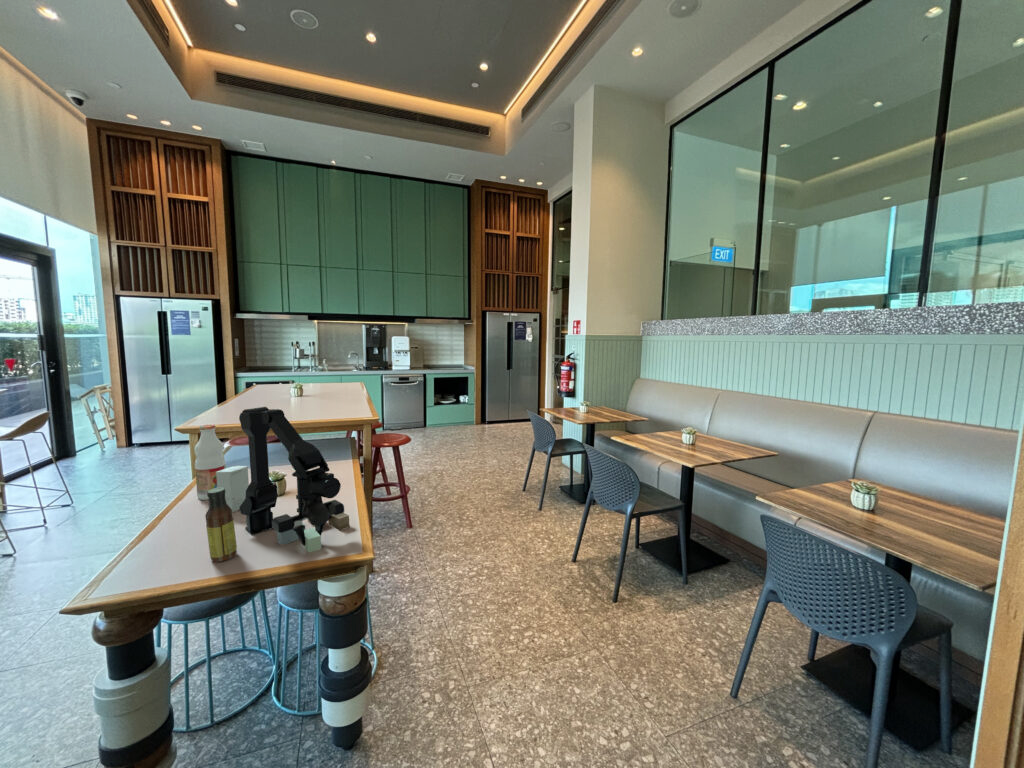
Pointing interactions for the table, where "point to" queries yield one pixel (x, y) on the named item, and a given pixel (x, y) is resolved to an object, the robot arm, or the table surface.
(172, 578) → the table surface
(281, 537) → the slate brick
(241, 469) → the skincare box
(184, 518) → the table surface
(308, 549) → the sage brick
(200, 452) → the fruit juice
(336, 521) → the walnut brick
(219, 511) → the sauce bottle
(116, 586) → the table surface
